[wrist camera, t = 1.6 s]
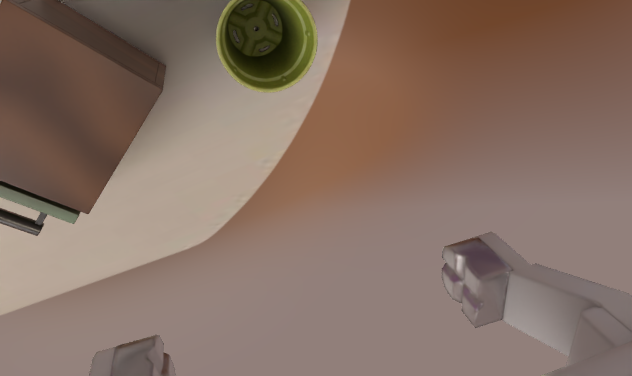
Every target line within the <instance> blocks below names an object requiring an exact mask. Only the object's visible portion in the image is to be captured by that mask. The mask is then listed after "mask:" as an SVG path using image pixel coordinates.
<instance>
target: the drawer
mask: <svg viewBox="0 0 632 376" xmlns="http://www.w3.org/2000/svg"><path fill="white" fill-rule="evenodd" d="M0 197H2V198H4V199H7V200H10V201H12V202H15V203H18V204H21V205H23V206H26V207H29V208H31V209H34V210H37V211H40V212H41V213H40V215H39V217H38V218H37V220H36V221H35V220H33V219H30V218H27V217H24V216H21V215H19V214H16V213H13V212H10V211H7V210H5V209H2V208H0V223H1V224H4V225H7V226H10V227H12V228H15V229H18V230H21V231H24V232H27V233H30V234H33V235H36V236H38V235H39V233H40V231H41V229H42V227H43V226H44V223H43V221H44V219H45V218H46V216H47V214H48V215H50V216H53V217H56V218H59V219H61V220H64V221H67V222H69V223H72V224H74V223H75V221H76V220H77V218H78V216H79V214H80V212H81V211H78V210H76V209H73V208H70V207H68V206H65V205H63V204H60V203H57V202H55V201H52V200H50V199H47V198H44V197H42V196H39V195H37V194H34V193H31V192H29V191H26V190H24V189H21V188H18V187H16V186H13V185H11V184H8V183H6V182H3V181H0Z"/></svg>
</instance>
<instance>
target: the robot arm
mask: <svg viewBox="0 0 632 376" xmlns="http://www.w3.org/2000/svg"><path fill="white" fill-rule="evenodd" d="M442 258H443V259H444V260H445V261H446V263H445V265H444V267H443V268H442V280H443V283H444V287H445V288H446V290H447V292H448V294H449V295H450V297H451V298H452V299H453V300H455V301H457V302H460V303H462V312H463V313H464V314H465V316H466V317H467V318H468V319H469V321H470V322H471V323H472V324H473V326H474V327H475V328H477V327H480V326H483V325H486V324H489V323H493V322H496V321H499V320H502V319H503V321H504V322H505V323H508V324H509V325H511V326H513V327H515V328H517V329H519V330H520V331H522V332H524V333H526V334H528V335H530V336H531V337H533V338H535V339H537V340H539V341H541V342H543V343H544V344H546V345H548V346H550V347H552V348H554V349H556V350H558V351H559V352H561V353H563V354H565V355H567V356H568V360H567V364H566V366H565V367H563V368H560V369H557V370H555V371H552V372H549V373H547V374H544V375H542V376H632V296H631V295H630V294H628V293H626V292H623V291H620V290H616V289H613V288H610V287H607V286H604V285H601V284H598V283H595V282H592V281H588V280H585V279H582V278H579V277H576V276H573V275H570V274H567V273H564V272H560V271H557V270H554V269H551V268H548V267H545V266H542V265H539V264H532V265H531V264H529V263H528V262H527V261H526V260H525V259H524V258H523V257H521V256H520V255H519V254H518V253H517V252H516V251H515V250H513V249H512V248H511V247H510V246H509V245H508V244H507V243H506V242H504V241H503V240H502V239H501V238H500V237H499V236H497V235H496V234H495V233H493V232H489V233H486V234H483V235H479V236H477V237H475V238H470V239H467V240H464V241H461V242H458V243H454V244H451V245H448V246H445V247H444V249H443V251H442ZM163 351H164V343H163V341H162V340H161V338H160V336H159V335H155V336H151V337H147V338H144V339H140V340H136V341H133V342H129V343H126V344H122V345H119V346H117V347H113V348H109V349H106V350H102V351H99V352H97V353H96V354H95V356H94V357H93V360H92V364H91V369H90V373H89V376H176V374H175V369H174V365H173V362H172V360H171V358H170V356H169V355H168V354H166V353H164V352H163Z"/></svg>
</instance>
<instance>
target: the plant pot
mask: <svg viewBox="0 0 632 376" xmlns="http://www.w3.org/2000/svg"><path fill="white" fill-rule="evenodd" d="M247 4H253V7H249V8H247V9H244V10H243V11H242V10H241V8H242V7H244V6H246V5H247ZM272 14H274V15H275V17H276V18H277V20H278V26H275V22H274V18H273V16H272ZM256 26H257V27H258V28H259V30H258V31H255V30H254V27H256ZM234 30H235V31H236V34H237V37H238V39H239V40H240V43H238V42H237V41H236V40H235V37H234V35H233V31H234ZM317 41H318V40H317V30H316V25H315V22H314V19H313V17H312V15H311V13H310V11H309V10H308V8H307V7H306V5H305V4H304V3H303V2H302V1H301V0H231V1H230V2H229V3H228V4H227V6H226V7H225V8H224V10H223V12H222V14H221V16H220V18H219V21H218V24H217V29H216V46H217V51H218V54H219V57H220V60H221V62H222V64H223V66H224V67H225V69H226V70H227V72H228V73H229V74H230V75H231V76H232V77H233V78H234V79H235V80H236V81H237V82H238V83H240V84H241V85H243V86H245V87H247V88H249V89H251V90H254V91H258V92H278V91H282V90H284V89H287V88H289V87H291V86H293V85H294V84H296V83H297V82H298V81H299V80H300V79H301V78H302V77H303V76H304V75H305V74H306V73H307V71H308V70H309V68H310V67H311V65H312V63H313V60H314V58H315V55H316V51H317ZM269 45H270V48H269V49H267V50H265V51H263V52H260V51H259V49H262V48H265V47H267V46H269Z"/></svg>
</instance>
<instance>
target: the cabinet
mask: <svg viewBox="0 0 632 376" xmlns="http://www.w3.org/2000/svg"><path fill="white" fill-rule="evenodd" d="M165 70H166V66H165V65H164V64H162V63H160V62H159V61H157V60H156V59H154V58H152V57H151V56H149V55H147V54H146V53H144V52H142V51H141V50H139V49H137V48H136V47H134V46H132V45H131V44H129V43H127V42H126V41H124V40H123V39H121V38H119V37H118V36H116V35H114V34H113V33H111V32H109V31H108V30H106V29H104V28H103V27H101V26H99V25H98V24H96V23H95V22H93V21H91V20H90V19H88V18H86V17H85V16H83V15H81V14H80V13H78V12H76V11H75V10H73V9H71V8H70V7H68V6H66V5H65V4H63V3H62V2H60V1H58V0H2V1H1V4H0V181H3V182H6V183H8V184H11V185H13V186H16V187H18V188H21V189H24V190H26V191H29V192H31V193H34V194H37V195H39V196H42V197H44V198H47V199H50V200H52V201H55V202H57V203H60V204H63V205H65V206H68V207H70V208H73V209H76V210H78V211H81V212H83V213H86V214H89V213H90V211H91V209H92V208H93V206H94V204H95V203H96V201H97V199H98V197H99V196H100V194H101V192H102V191H103V189H104V187H105V186H106V184H107V182H108V181H109V179H110V177H111V176H112V174H113V172H114V171H115V169H116V167H117V166H118V164H119V162H120V161H121V159H122V157H123V156H124V154H125V152H126V151H127V149H128V147H129V146H130V144H131V142H132V141H133V139H134V137H135V136H136V134H137V132H138V131H139V129H140V127H141V126H142V124H143V122H144V121H145V119H146V117H147V116H148V114H149V112H150V111H151V109H152V107H153V106H154V104H155V102H156V101H157V99H158V97H159V96H160V94H161V92H162V91H163V85H164V77H165Z"/></svg>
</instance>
